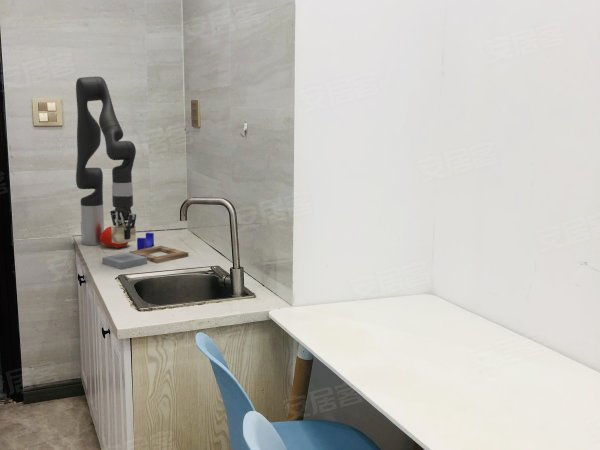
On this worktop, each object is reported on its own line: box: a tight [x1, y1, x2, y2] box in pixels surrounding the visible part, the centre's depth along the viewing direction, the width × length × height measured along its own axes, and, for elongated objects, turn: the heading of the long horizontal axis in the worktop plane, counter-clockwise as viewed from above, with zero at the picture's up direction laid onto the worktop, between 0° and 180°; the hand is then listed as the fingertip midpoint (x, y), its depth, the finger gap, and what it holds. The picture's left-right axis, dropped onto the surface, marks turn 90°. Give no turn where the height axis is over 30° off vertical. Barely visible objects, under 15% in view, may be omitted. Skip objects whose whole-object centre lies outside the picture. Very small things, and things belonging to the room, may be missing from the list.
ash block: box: [110, 225, 137, 244], centre depth 238 cm, size 4×8×6 cm, turn 140°
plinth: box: [101, 251, 148, 270], centre depth 241 cm, size 12×12×2 cm
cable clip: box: [136, 232, 155, 250], centre depth 265 cm, size 12×4×6 cm, turn 174°
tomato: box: [100, 226, 129, 249], centre depth 267 cm, size 13×12×8 cm
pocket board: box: [129, 245, 189, 264], centre depth 254 cm, size 18×16×2 cm
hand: (123, 238), depth 239 cm, fingers closed on ash block, 4 cm apart
